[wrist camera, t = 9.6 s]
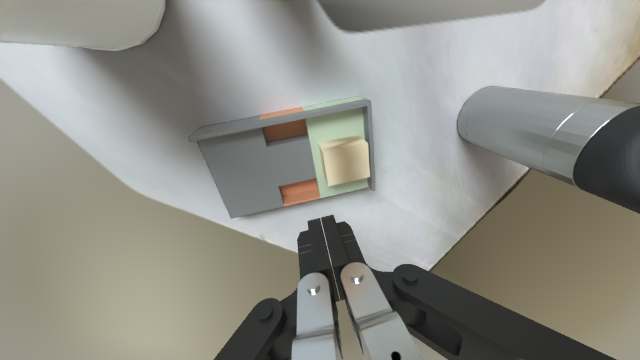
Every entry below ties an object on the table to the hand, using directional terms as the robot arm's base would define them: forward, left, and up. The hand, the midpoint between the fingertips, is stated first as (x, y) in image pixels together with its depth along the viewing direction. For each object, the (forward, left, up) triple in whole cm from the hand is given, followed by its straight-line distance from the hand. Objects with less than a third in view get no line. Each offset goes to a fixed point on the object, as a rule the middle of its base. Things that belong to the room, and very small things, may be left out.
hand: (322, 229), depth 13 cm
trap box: (+1, +5, -24) cm, 24 cm away
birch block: (-6, +5, -21) cm, 22 cm away
